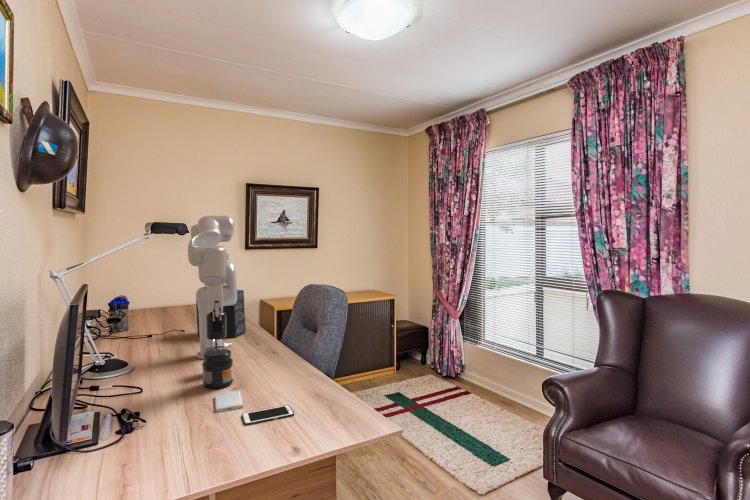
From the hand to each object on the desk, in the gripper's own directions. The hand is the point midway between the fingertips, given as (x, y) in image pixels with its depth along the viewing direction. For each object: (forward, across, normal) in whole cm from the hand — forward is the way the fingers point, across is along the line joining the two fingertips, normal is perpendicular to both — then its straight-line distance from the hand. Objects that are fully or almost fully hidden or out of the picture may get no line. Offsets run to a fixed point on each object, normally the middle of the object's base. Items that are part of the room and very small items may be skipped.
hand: (216, 328), depth 150 cm
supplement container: (+21, 0, 0) cm, 21 cm away
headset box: (+21, -79, +7) cm, 82 cm away
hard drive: (+22, +19, +2) cm, 29 cm away
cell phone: (+21, +34, +12) cm, 42 cm away
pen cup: (+21, -14, 0) cm, 25 cm away
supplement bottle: (+3, 0, 0) cm, 3 cm away
